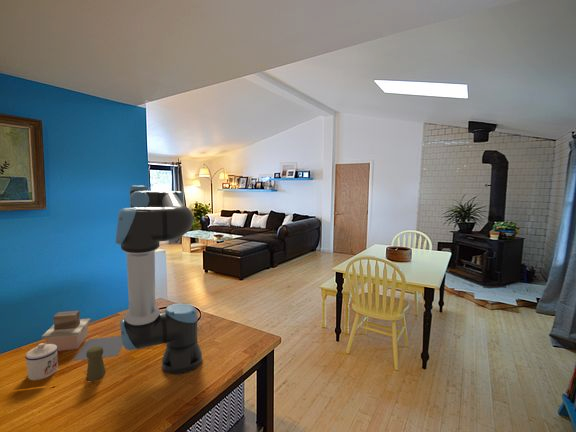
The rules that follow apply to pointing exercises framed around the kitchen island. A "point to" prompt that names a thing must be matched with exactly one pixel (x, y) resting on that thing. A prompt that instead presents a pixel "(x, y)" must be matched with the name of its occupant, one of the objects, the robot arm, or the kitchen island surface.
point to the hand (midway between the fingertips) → (141, 260)
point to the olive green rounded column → (95, 364)
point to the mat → (108, 344)
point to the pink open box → (69, 341)
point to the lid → (66, 325)
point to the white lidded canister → (42, 361)
